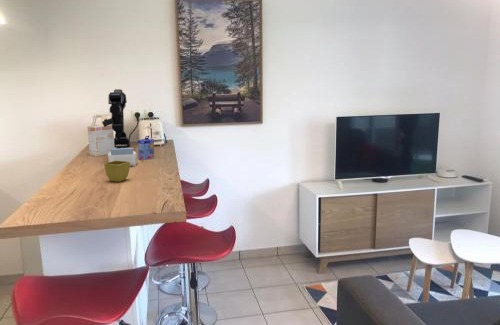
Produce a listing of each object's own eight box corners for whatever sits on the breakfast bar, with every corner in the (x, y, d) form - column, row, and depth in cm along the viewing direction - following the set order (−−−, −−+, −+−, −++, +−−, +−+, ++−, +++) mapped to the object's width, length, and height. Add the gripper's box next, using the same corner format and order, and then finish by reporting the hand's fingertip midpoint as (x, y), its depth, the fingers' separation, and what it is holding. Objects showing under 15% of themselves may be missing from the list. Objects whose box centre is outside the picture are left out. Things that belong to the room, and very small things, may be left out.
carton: (109, 162, 243) (108, 152, 242) (135, 161, 248) (135, 150, 246) (108, 166, 231) (108, 155, 230) (136, 165, 236) (136, 153, 235)
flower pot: (131, 179, 201) (130, 161, 199) (120, 183, 193) (119, 164, 191) (116, 178, 204) (115, 160, 202) (104, 182, 196) (103, 163, 194)
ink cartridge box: (145, 160, 250) (144, 136, 247) (138, 159, 252) (136, 136, 250) (155, 157, 259) (153, 134, 256) (147, 157, 261) (146, 134, 258)
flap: (111, 154, 230) (110, 148, 224) (133, 153, 234) (133, 147, 228) (111, 155, 230) (110, 149, 224) (133, 154, 233) (133, 148, 227)
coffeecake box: (109, 152, 280) (106, 124, 276) (115, 153, 276) (113, 124, 272) (89, 155, 268) (86, 126, 264) (95, 156, 264) (93, 126, 260)
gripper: (102, 113, 248) (104, 139, 251) (101, 115, 230) (103, 142, 233) (121, 112, 251) (123, 138, 254) (122, 114, 234) (124, 141, 237)
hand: (118, 140), depth 244 cm, fingers closed
